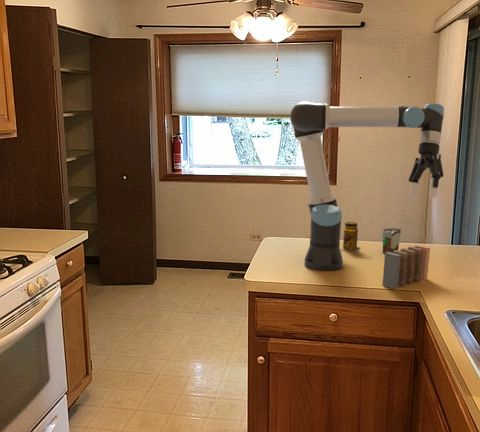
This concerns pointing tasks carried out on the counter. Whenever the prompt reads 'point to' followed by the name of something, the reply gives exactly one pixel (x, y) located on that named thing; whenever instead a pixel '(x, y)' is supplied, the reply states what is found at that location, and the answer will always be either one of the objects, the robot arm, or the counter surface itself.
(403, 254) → the domino
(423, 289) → the counter surface
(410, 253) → the domino
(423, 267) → the domino
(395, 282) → the domino
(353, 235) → the condiment
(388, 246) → the food container
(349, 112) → the robot arm
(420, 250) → the domino
